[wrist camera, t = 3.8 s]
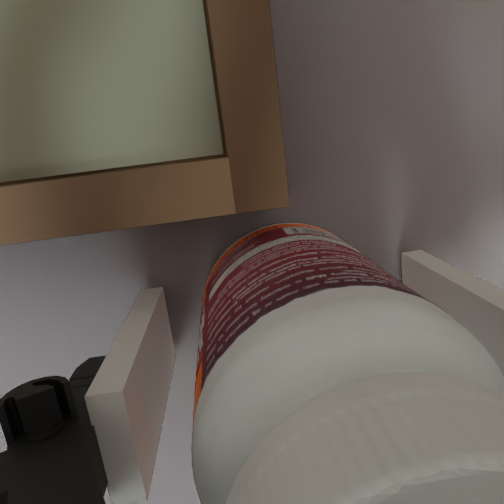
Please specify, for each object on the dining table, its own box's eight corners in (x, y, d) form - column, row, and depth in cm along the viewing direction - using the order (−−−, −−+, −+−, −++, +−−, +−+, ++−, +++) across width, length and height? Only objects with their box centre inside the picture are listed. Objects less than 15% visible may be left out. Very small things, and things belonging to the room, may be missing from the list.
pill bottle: (168, 285, 15) (41, 649, 4) (308, 184, 15) (588, 290, 4) (265, 403, 17) (363, 901, 6) (395, 315, 16) (779, 670, 5)
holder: (-80, 241, 14) (-165, 268, 11) (-226, -201, 11) (-400, -338, 8) (274, 194, 15) (289, 206, 11) (227, -237, 12) (231, -377, 8)
